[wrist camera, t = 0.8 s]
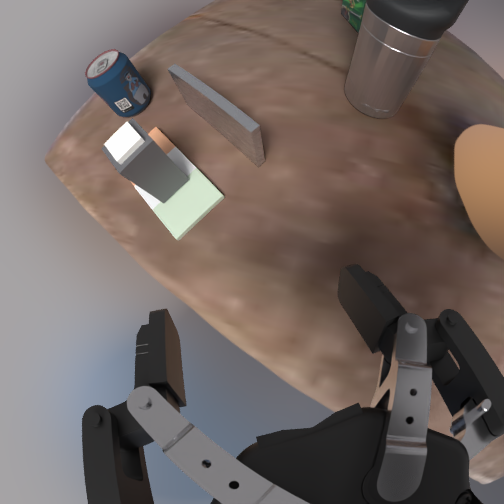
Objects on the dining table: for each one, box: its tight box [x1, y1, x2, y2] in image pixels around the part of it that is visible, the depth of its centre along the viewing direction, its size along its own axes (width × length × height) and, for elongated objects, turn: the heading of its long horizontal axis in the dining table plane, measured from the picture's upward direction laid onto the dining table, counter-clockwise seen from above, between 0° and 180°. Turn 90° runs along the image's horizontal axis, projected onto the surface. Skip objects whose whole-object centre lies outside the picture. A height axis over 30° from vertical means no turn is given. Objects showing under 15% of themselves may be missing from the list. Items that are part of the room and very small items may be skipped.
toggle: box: [102, 118, 189, 203], centre depth 28 cm, size 4×4×12 cm
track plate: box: [131, 127, 225, 240], centre depth 35 cm, size 16×8×1 cm, turn 43°
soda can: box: [85, 49, 151, 117], centre depth 32 cm, size 7×7×12 cm
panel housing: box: [168, 64, 265, 167], centre depth 31 cm, size 16×1×9 cm, turn 43°
